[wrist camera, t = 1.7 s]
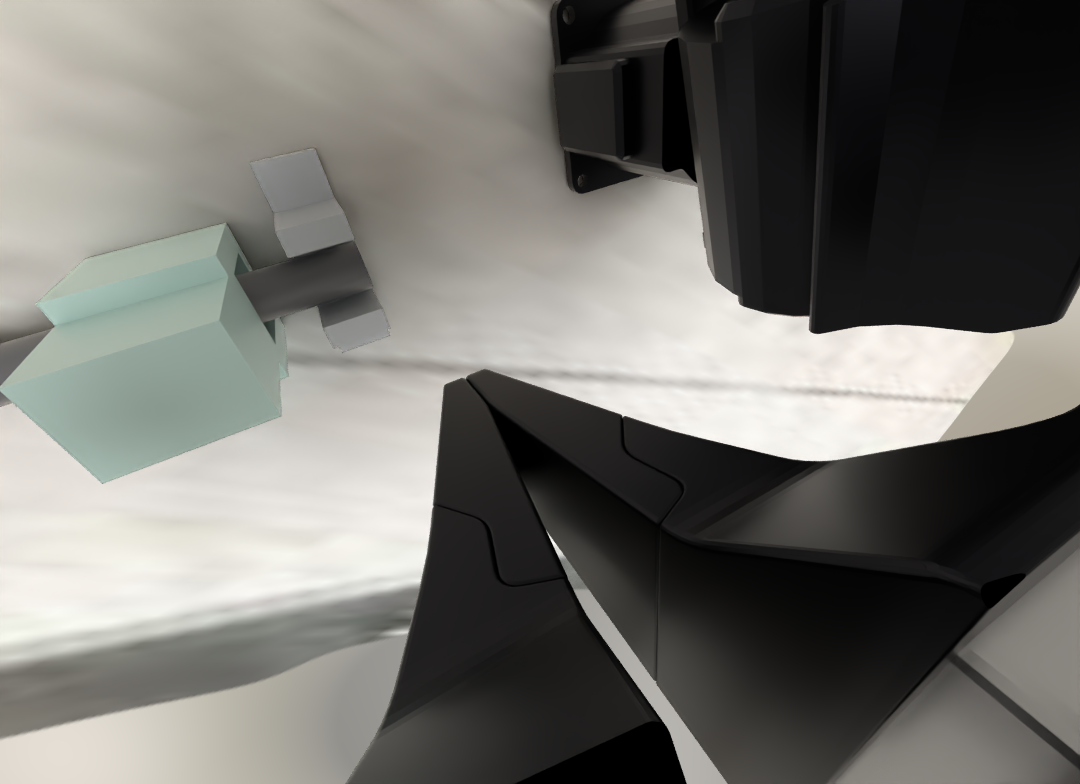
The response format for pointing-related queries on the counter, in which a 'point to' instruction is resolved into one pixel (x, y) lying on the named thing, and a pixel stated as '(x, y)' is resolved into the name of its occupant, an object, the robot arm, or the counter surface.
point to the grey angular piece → (292, 262)
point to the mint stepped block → (152, 355)
